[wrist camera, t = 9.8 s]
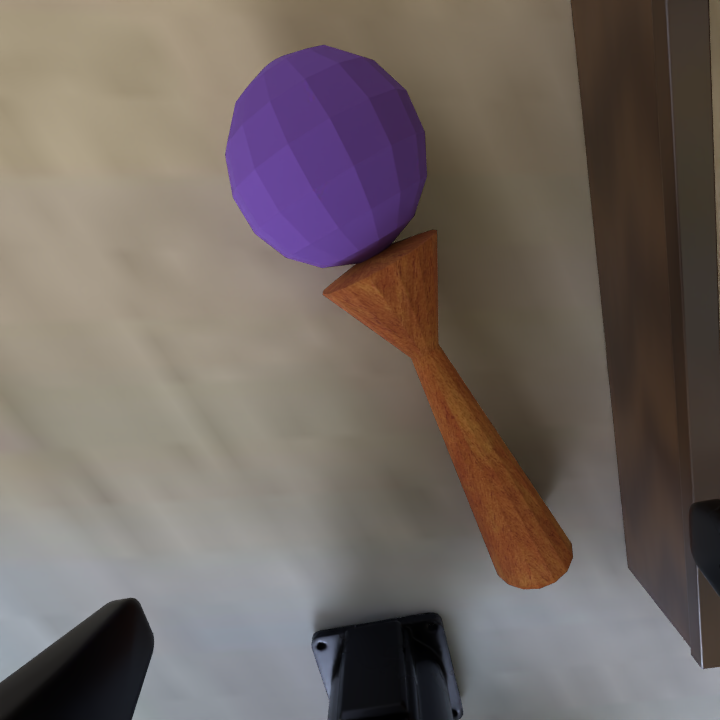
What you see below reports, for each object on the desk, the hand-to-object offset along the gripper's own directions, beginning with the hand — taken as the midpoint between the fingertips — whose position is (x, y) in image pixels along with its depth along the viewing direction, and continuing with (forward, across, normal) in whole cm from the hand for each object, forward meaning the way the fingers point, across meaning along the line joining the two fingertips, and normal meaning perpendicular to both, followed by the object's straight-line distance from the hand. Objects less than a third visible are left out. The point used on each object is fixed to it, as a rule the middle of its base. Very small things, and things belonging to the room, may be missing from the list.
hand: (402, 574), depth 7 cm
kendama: (+12, -2, -1) cm, 12 cm away
